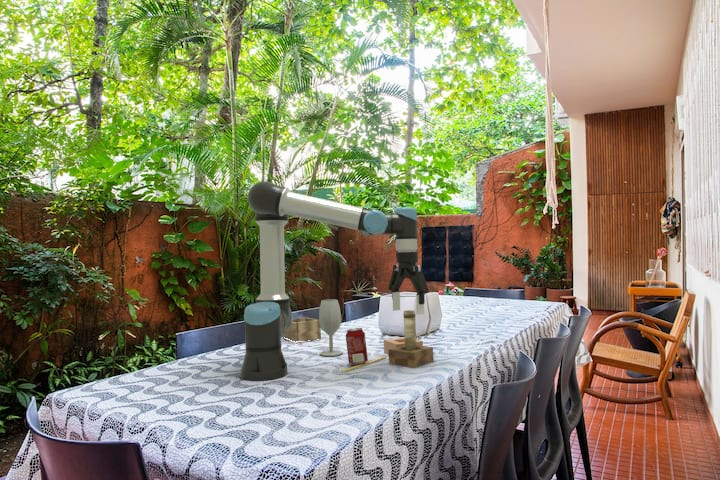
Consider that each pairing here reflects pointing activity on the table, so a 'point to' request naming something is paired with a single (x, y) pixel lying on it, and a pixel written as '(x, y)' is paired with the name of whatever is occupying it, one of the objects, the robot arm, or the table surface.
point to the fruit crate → (303, 329)
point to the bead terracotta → (397, 343)
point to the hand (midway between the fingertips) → (408, 312)
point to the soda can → (356, 346)
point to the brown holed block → (411, 356)
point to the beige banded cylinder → (410, 330)
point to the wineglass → (330, 323)
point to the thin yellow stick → (363, 364)
